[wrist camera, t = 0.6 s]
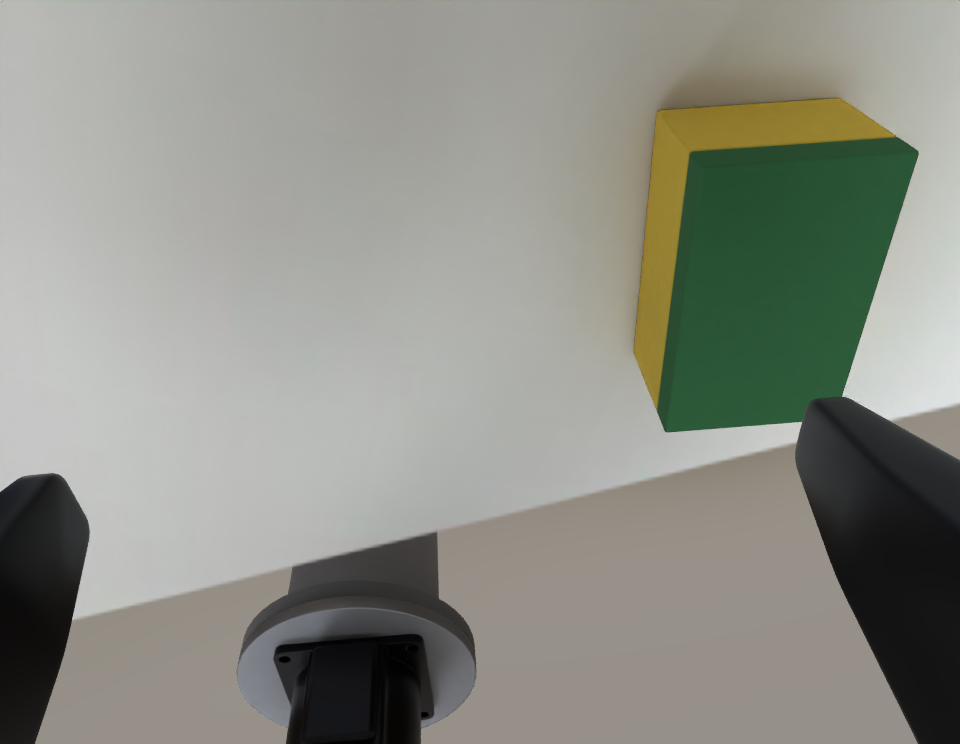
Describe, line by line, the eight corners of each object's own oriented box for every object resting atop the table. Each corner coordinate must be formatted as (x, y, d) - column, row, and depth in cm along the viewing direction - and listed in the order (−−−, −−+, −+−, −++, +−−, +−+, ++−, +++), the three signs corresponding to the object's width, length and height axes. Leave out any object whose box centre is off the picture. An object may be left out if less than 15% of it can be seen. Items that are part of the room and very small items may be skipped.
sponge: (782, 341, 25) (835, 420, 22) (633, 353, 25) (664, 433, 21) (841, 97, 20) (921, 151, 17) (656, 109, 20) (701, 166, 17)
